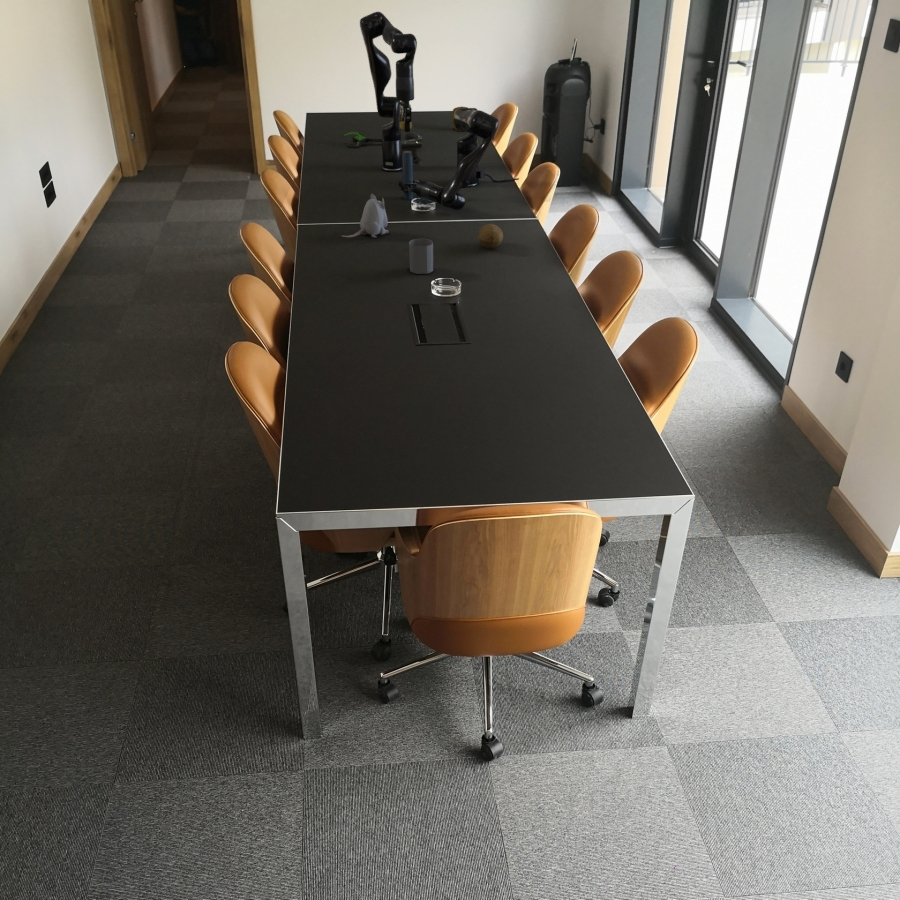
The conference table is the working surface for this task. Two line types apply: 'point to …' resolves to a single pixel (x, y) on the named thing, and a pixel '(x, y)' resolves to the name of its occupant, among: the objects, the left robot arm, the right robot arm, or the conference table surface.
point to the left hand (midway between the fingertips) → (406, 130)
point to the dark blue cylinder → (407, 172)
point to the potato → (490, 236)
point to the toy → (373, 218)
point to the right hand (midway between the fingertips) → (404, 182)
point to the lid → (403, 125)
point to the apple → (453, 116)
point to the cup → (421, 256)
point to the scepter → (360, 139)
